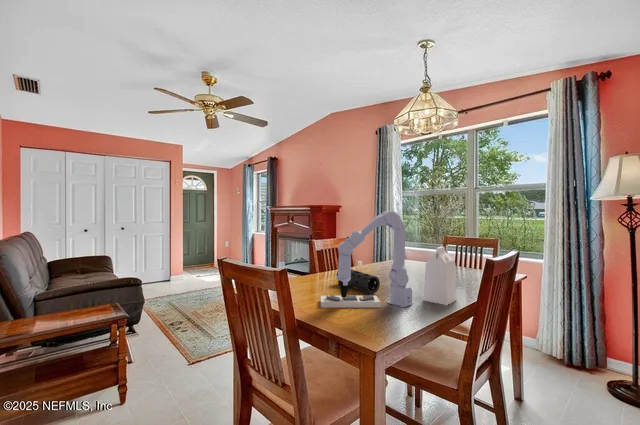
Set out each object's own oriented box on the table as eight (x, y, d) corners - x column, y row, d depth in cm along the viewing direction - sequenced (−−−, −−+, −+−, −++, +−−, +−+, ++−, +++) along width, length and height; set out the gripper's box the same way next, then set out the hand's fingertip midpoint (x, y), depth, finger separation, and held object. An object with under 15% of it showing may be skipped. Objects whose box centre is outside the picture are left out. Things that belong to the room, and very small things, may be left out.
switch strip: (376, 300, 150) (376, 295, 150) (380, 307, 140) (380, 301, 140) (320, 300, 150) (320, 295, 150) (320, 307, 140) (320, 301, 140)
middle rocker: (355, 297, 146) (355, 295, 146) (356, 300, 142) (356, 297, 142) (343, 298, 146) (343, 295, 146) (343, 300, 142) (343, 298, 142)
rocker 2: (372, 296, 146) (371, 293, 146) (374, 298, 142) (373, 296, 142) (360, 299, 146) (359, 297, 146) (361, 302, 142) (360, 299, 142)
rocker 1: (338, 299, 146) (339, 297, 146) (339, 302, 142) (339, 299, 142) (326, 296, 146) (326, 293, 146) (326, 298, 142) (327, 296, 142)
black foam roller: (366, 297, 157) (366, 276, 156) (335, 284, 180) (335, 267, 180) (380, 294, 162) (380, 274, 161) (348, 282, 185) (348, 265, 185)
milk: (433, 295, 160) (434, 245, 159) (456, 299, 152) (457, 247, 151) (423, 300, 151) (423, 247, 150) (446, 305, 143) (447, 249, 142)
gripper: (335, 264, 151) (334, 292, 151) (336, 270, 136) (335, 301, 136) (349, 265, 151) (348, 292, 151) (352, 271, 136) (351, 301, 136)
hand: (343, 296), depth 144 cm, fingers closed, pressing on middle rocker
